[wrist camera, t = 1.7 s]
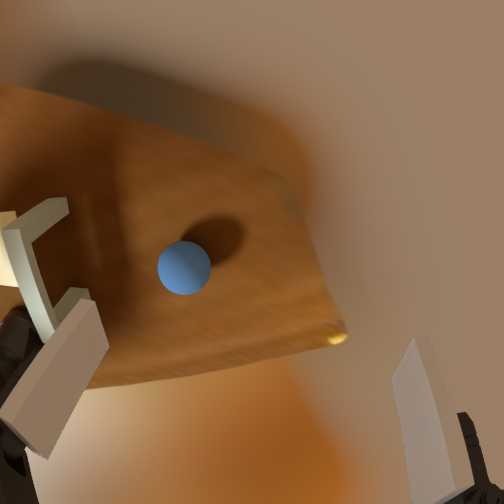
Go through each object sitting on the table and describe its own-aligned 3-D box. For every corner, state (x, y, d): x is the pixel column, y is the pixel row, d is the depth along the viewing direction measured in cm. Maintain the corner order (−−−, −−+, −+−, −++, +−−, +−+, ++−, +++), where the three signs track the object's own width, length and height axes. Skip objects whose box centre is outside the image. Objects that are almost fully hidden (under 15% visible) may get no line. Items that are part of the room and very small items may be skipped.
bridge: (66, 196, 31) (19, 229, 23) (91, 300, 38) (61, 346, 29) (47, 198, 31) (0, 229, 23) (74, 299, 38) (43, 343, 29)
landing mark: (38, 288, 37) (37, 289, 37) (-10, 282, 37) (-10, 283, 37) (15, 210, 32) (14, 211, 31) (-31, 215, 32) (-32, 215, 32)
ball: (215, 277, 35) (208, 306, 30) (168, 275, 35) (155, 304, 30) (212, 232, 33) (204, 257, 28) (162, 232, 33) (147, 256, 28)
